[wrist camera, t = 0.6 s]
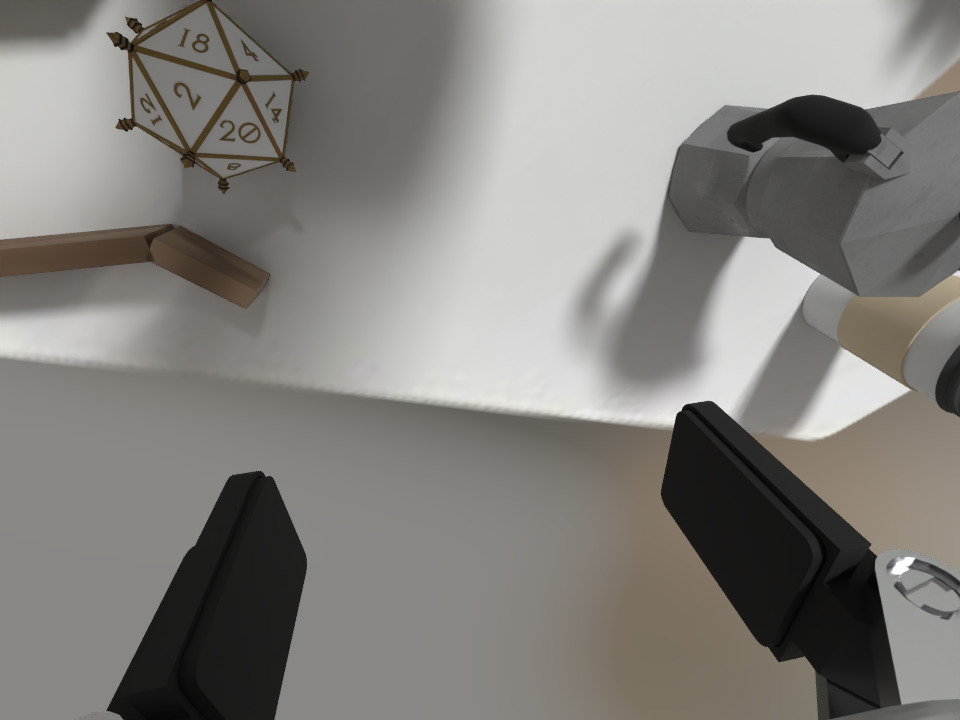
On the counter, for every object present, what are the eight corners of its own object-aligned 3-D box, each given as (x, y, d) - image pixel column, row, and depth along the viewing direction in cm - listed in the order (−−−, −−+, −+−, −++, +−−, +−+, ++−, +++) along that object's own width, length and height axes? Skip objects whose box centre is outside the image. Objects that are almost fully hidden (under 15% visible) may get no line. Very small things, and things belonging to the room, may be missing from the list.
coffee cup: (778, 292, 38) (970, 379, 25) (873, 223, 36) (1134, 278, 23) (806, 355, 42) (984, 457, 29) (893, 295, 40) (1124, 377, 27)
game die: (279, 82, 28) (353, 33, 21) (262, 211, 29) (329, 204, 22) (99, -9, 22) (124, -121, 15) (85, 161, 23) (103, 128, 16)
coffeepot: (823, 152, 33) (1206, 178, 17) (742, 263, 36) (997, 368, 21) (676, 38, 27) (1033, -74, 12) (598, 180, 31) (794, 237, 15)
